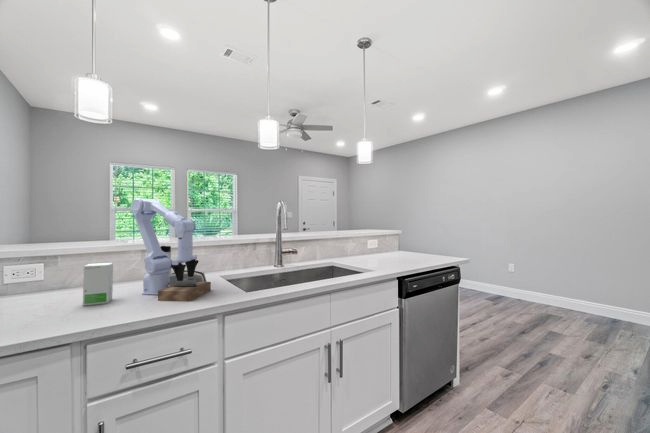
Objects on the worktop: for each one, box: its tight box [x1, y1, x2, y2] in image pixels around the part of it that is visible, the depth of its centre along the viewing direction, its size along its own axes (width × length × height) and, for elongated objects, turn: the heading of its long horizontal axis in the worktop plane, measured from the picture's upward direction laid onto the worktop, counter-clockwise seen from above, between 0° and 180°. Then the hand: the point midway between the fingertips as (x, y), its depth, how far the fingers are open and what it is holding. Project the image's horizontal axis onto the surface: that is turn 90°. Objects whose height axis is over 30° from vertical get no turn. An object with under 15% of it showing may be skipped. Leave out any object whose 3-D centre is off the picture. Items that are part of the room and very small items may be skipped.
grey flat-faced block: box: [176, 279, 196, 287], centre depth 118 cm, size 8×2×7 cm, turn 84°
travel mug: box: [160, 245, 172, 285], centre depth 137 cm, size 6×7×20 cm
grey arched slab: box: [169, 269, 208, 286], centre depth 131 cm, size 17×5×10 cm, turn 95°
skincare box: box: [82, 262, 114, 307], centre depth 109 cm, size 8×7×16 cm
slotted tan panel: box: [157, 281, 212, 302], centre depth 118 cm, size 14×16×4 cm
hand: (185, 278), depth 118 cm, fingers open, 7 cm apart
